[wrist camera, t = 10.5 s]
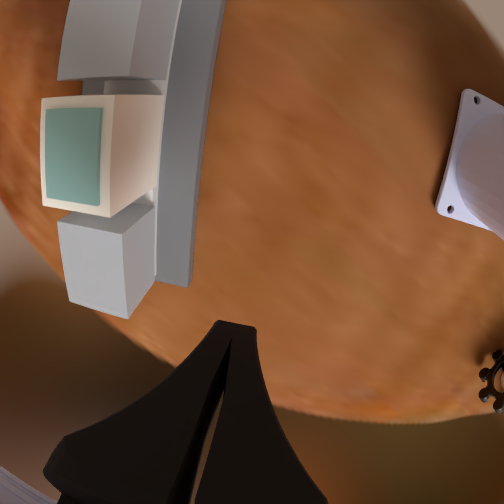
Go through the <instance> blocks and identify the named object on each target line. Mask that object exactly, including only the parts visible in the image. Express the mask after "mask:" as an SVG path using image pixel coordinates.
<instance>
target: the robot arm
mask: <svg viewBox="0 0 504 504" xmlns="http://www.w3.org/2000/svg"><path fill="white" fill-rule="evenodd" d="M474 97H476V98H477V104H476V103H475V102H474ZM450 205H451V210H450V211H447V208H448V206H450ZM435 209H436V211H437V212H438V213H439V214H441V215H443V216H447V217H450V218H453V219H456V220H460V221H463V222H466V223H469V224H472V225H475V226H478V227H481V228H484V229H487V230H490V231H493V232H494V233H496V234H497V235H498V236H499V237H500V238H502V239H503V240H504V107H503V106H502V105H500V104H498V103H496V102H495V101H493V100H491V99H489V98H487V97H485V96H483V95H482V94H480V93H478V92H476V91H474V90H472V89H464V90H463V91H462V94H461V100H460V106H459V111H458V117H457V122H456V127H455V131H454V136H453V141H452V145H451V149H450V153H449V157H448V161H447V165H446V169H445V173H444V176H443V180H442V184H441V187H440V190H439V194H438V197H437V200H436V204H435ZM256 334H257V330H256V329H255V327H252V326H247V325H242V324H237V323H232V322H227V321H222V320H218V321H216V322H215V323H214V325H213V326H212V328H211V329H210V331H209V332H208V333H207V335H206V336H205V337H204V338H203V340H202V341H201V342H200V343H199V345H198V346H197V347H196V348H195V349H194V350H193V351H192V352H191V353H190V355H189V356H188V357H187V358H186V359H185V360H184V361H183V362H182V363H181V364H180V365H179V366H178V367H177V368H176V369H175V370H173V371H172V372H171V373H170V374H169V375H168V376H167V377H166V378H165V379H164V380H162V381H161V382H160V383H159V384H158V385H157V386H155V387H154V388H152V389H151V390H150V391H148V392H147V393H146V394H144V395H143V396H141V397H140V398H139V399H137V400H136V401H134V402H133V403H131V404H130V405H128V406H127V407H125V408H123V409H122V410H120V411H118V412H116V413H114V414H112V415H110V416H109V417H107V418H105V419H103V420H101V421H99V422H97V423H95V424H93V425H91V426H88V427H86V428H84V429H81V430H79V431H76V432H74V433H71V434H68V435H66V436H64V438H63V439H62V440H61V441H60V443H59V444H58V445H57V447H56V448H55V449H54V451H53V452H52V454H51V456H50V458H49V460H48V462H47V463H46V466H45V467H44V469H43V474H44V476H45V478H46V479H47V480H48V481H49V482H50V483H51V484H52V485H53V486H54V487H56V488H57V489H58V490H59V491H60V492H61V493H62V494H61V496H60V499H59V501H58V502H56V501H55V500H53V499H51V498H49V497H48V496H46V495H44V494H42V493H41V492H39V491H37V490H35V489H34V488H32V487H31V486H29V485H27V484H26V483H24V482H23V481H21V480H20V479H18V478H17V477H15V476H14V475H13V474H11V473H9V472H8V471H7V470H5V469H4V468H2V467H1V466H0V504H190V502H191V498H192V493H193V489H194V485H195V481H196V477H197V472H198V468H199V464H200V460H201V456H202V452H203V448H204V445H205V442H206V438H207V436H208V433H209V430H210V427H211V425H212V421H213V419H214V416H215V413H216V410H217V408H218V405H219V402H220V399H221V396H222V393H223V391H224V395H223V402H222V406H221V410H220V413H219V417H218V421H217V425H216V428H215V432H214V436H213V440H212V443H211V446H210V450H209V454H208V457H207V461H206V464H205V468H204V471H203V474H202V478H201V481H200V484H199V488H198V491H197V494H196V498H195V504H328V501H327V498H326V497H325V496H324V495H323V493H322V492H321V491H320V490H319V488H318V487H317V486H316V484H315V483H314V481H313V480H312V479H311V477H310V476H309V475H308V473H307V472H306V470H305V469H304V467H303V465H302V464H301V462H300V461H299V459H298V457H297V456H296V454H295V452H294V450H293V449H292V447H291V446H290V443H289V441H288V440H287V438H286V436H285V434H284V432H283V430H282V428H281V425H280V423H279V421H278V419H277V416H276V414H275V411H274V409H273V406H272V404H271V401H270V398H269V395H268V392H267V389H266V385H265V382H264V378H263V374H262V370H261V366H260V361H259V356H258V349H257V336H256Z"/></svg>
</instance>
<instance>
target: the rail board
mask: <svg viewBox="0 0 504 504" xmlns="http://www.w3.org/2000/svg"><path fill="white" fill-rule="evenodd" d="M225 5H226V0H70V4H69V8H68V13H67V17H66V22H65V28H64V33H63V39H62V45H61V51H60V58H59V66H58V75H57V81H64V80H83V88H82V95H94V94H146V95H165V97H164V105H163V113H162V123H161V133H160V143H159V155H158V168H157V184H156V187H154V188H153V189H151V190H150V191H148V192H147V193H145V194H144V195H142V196H141V197H139V198H138V199H136V200H135V201H134V202H132V203H131V204H129V205H128V206H126V207H125V208H123V209H122V210H121V211H119V212H118V213H116V214H115V215H114V216H112V217H111V218H108V217H103V216H98V215H92V214H87V213H81V212H76V211H73V212H71V213H70V214H68V215H66V216H65V217H63V218H62V219H60V220H58V221H57V224H58V233H59V241H60V249H61V256H62V262H63V269H64V275H65V280H66V286H67V291H68V295H69V300H70V302H73V303H76V304H80V305H82V306H85V307H88V308H92V309H95V310H98V311H101V312H105V313H108V314H111V315H115V316H118V317H121V318H125V319H129V317H130V316H131V314H132V313H133V311H134V310H135V309H136V307H137V306H138V304H139V303H140V301H141V300H142V298H143V297H144V296H145V294H146V293H147V291H148V290H149V289H150V287H151V286H152V284H153V283H154V282H155V281H159V282H164V283H168V284H173V285H177V286H182V287H186V288H188V286H189V285H190V283H191V281H192V272H193V257H194V243H195V230H196V218H197V207H198V196H199V186H200V176H201V167H202V158H203V149H204V141H205V132H206V125H207V117H208V109H209V102H210V95H211V88H212V81H213V75H214V68H215V62H216V56H217V50H218V44H219V38H220V32H221V27H222V21H223V16H224V10H225Z"/></svg>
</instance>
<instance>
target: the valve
mask: <svg viewBox="0 0 504 504" xmlns="http://www.w3.org/2000/svg"><path fill="white" fill-rule="evenodd" d="M492 358H493V360H494V362H495V364H494V366H493V367H492V368H491V369H488V368H483V369H481V370H480V372H479V377H480V379H481V381H482V382H485V380H487V387H486V388H483V389H481V390H480V392H479V398H480V400H481V401H482V402H488V398H489V397H491V396H493V397H494V398H495V399H496V400H495V402H494V404H493V408H494V410H495V412H496V413H502V412H503V411H504V391H503V392H502V393H500V392H498V391H497V390H496V389H495V388H494V378H495V375H496V373H497V372H498V370H499V369H500V368H501V370H502V372H503V374H502V376H501V386H502V388H503V390H504V355H503V352H502V351H501V350H497V351H495V352H494V353H493V355H492Z"/></svg>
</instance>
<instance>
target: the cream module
mask: <svg viewBox="0 0 504 504" xmlns="http://www.w3.org/2000/svg"><path fill="white" fill-rule="evenodd" d="M164 97H165V95H146V94H94V95H76V96H62V97H51V98H42V104H41V126H40V165H41V187H42V201H43V206H49V207H54V208H60V209H65V210H71V211H76V212H81V213H87V214H92V215H98V216H103V217H108V218H111V217H112V216H114V215H115V214H116V213H118V212H119V211H121V210H122V209H123V208H125V207H126V206H128V205H129V204H131V203H132V202H134V201H135V200H136V199H138V198H139V197H141V196H142V195H144V194H145V193H147V192H148V191H150V190H151V189H153V188H154V187H156V184H157V168H158V155H159V143H160V133H161V123H162V113H163V105H164Z"/></svg>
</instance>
